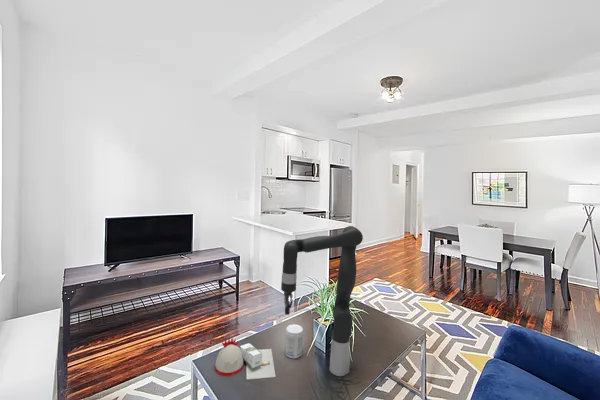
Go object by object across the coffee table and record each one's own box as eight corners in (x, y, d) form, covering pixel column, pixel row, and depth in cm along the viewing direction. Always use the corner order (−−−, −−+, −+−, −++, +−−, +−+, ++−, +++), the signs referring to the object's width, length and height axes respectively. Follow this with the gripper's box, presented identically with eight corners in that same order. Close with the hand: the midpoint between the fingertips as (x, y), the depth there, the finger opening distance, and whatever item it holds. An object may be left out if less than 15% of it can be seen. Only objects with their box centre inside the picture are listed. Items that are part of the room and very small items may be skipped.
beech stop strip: (269, 363, 141) (269, 361, 141) (269, 365, 140) (270, 362, 140) (250, 364, 139) (250, 362, 139) (250, 366, 138) (250, 364, 138)
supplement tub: (298, 347, 157) (300, 323, 156) (304, 357, 148) (306, 331, 147) (282, 349, 154) (284, 325, 153) (287, 360, 145) (289, 334, 144)
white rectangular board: (271, 349, 154) (271, 348, 154) (275, 377, 132) (275, 376, 132) (246, 351, 151) (246, 350, 151) (246, 379, 129) (246, 379, 129)
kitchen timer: (214, 360, 142) (215, 332, 141) (240, 355, 147) (241, 328, 146) (216, 378, 129) (217, 348, 128) (245, 372, 134) (246, 343, 133)
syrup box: (262, 365, 137) (248, 353, 149) (262, 352, 138) (249, 342, 149) (252, 368, 134) (239, 356, 145) (252, 356, 134) (239, 345, 146)
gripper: (298, 285, 130) (296, 320, 131) (293, 276, 143) (292, 307, 144) (283, 285, 129) (281, 320, 130) (279, 276, 142) (278, 308, 143)
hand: (287, 313), depth 137 cm, fingers closed
